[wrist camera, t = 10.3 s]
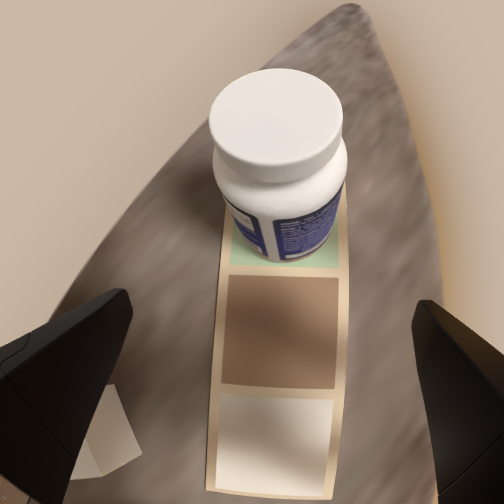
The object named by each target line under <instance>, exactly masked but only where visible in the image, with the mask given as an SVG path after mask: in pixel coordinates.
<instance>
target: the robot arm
mask: <svg viewBox="0 0 504 504" xmlns="http://www.w3.org/2000/svg"><path fill="white" fill-rule="evenodd" d="M132 316H133V309H132V306H131V302H130V299H129V296H128V292H127V291H126V290H125V289H120V288H114V289H111V290H110V291H108V292H106V293H104V294H102V295H100V296H98V297H96V298H94V299H92V300H90V301H88V302H86V303H84V304H82V305H80V306H78V307H76V308H75V309H73V310H71V311H69V312H67V313H65V314H63V315H61V316H59V317H57V318H55V319H54V320H52V321H50V322H48V323H46V324H44V325H42V326H40V327H39V328H37V329H35V330H33V331H32V332H29V333H27V334H25V335H24V336H22V337H20V338H18V339H16V340H14V341H12V342H10V343H8V344H6V345H4V346H2V347H0V504H28V503H29V501H30V499H32V500H34V501H35V502H37V503H38V504H62V502H63V499H64V496H65V493H66V490H67V487H68V484H69V481H70V478H71V475H72V472H73V469H74V467H75V464H76V460H77V458H78V455H79V452H80V450H81V447H82V444H83V442H84V439H85V436H86V434H87V431H88V429H89V426H90V424H91V421H92V419H93V416H94V414H95V411H96V409H97V406H98V404H99V401H100V399H101V396H102V394H103V392H104V389H105V387H106V385H107V382H108V380H109V378H110V375H111V373H112V371H113V368H114V366H115V364H116V362H117V359H118V357H119V355H120V352H121V349H122V346H123V343H124V340H125V337H126V334H127V331H128V328H129V325H130V322H131V319H132ZM411 329H412V336H413V343H414V350H415V357H416V365H417V372H418V377H419V381H420V386H421V390H422V395H423V400H424V405H425V410H426V415H427V420H428V426H429V431H430V437H431V443H432V450H433V457H434V464H435V472H436V481H437V490H438V495H439V496H438V504H504V355H503V354H502V353H501V352H499V351H498V350H497V349H496V348H494V347H493V346H492V345H491V344H489V343H488V342H487V341H485V340H484V339H483V338H482V337H480V336H479V335H478V334H476V333H475V332H474V331H473V330H471V329H470V328H469V327H467V326H466V325H465V324H463V323H462V322H461V321H459V320H458V319H457V318H455V317H454V316H453V315H451V314H450V313H449V312H447V311H446V310H445V309H443V308H442V307H441V306H439V305H438V304H437V303H435V302H434V301H432V300H420V301H419V302H418V303H417V306H416V310H415V313H414V316H413V320H412V325H411Z"/></svg>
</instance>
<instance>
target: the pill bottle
mask: <svg viewBox="0 0 504 504" xmlns="http://www.w3.org/2000/svg"><path fill="white" fill-rule="evenodd" d="M342 120H343V113H342V107H341V104H340V101H339V99H338V97H337V95H336V94H335V93H334V92H333V90H332V89H331V88H330V87H329V86H328V85H327V84H325V83H324V82H323V81H321V80H320V79H318V78H316V77H315V76H312V75H310V74H307V73H305V72H301V71H297V70H292V69H281V68H279V69H266V70H261V71H256V72H253V73H250V74H247V75H245V76H243V77H240V78H238V79H237V80H235V81H233V82H232V83H230V84H229V85H228V86H226V88H225V89H223V90H222V91H221V92H220V94H219V95H218V96H217V97H216V99H215V101H214V102H213V104H212V107H211V109H210V114H209V129H210V133H211V136H212V139H213V141H214V144H215V148H214V153H213V172H214V176H215V179H216V182H217V185H218V187H219V189H220V191H221V193H222V196H223V198H224V200H225V202H226V204H227V206H228V208H229V210H230V212H231V214H232V216H233V219H234V221H235V223H236V225H237V227H238V229H239V231H240V233H241V235H242V237H243V239H244V240H245V242H246V243H247V244H248V246H249V247H250V248H251V249H252V250H253V251H254V252H256V253H257V254H258V255H260V256H262V257H264V258H266V259H268V260H271V261H275V262H282V263H290V262H296V261H300V260H303V259H306V258H308V257H310V256H312V255H313V254H315V253H316V252H317V251H318V250H319V249H321V248H322V246H323V245H324V244H325V243H326V241H327V239H328V238H329V236H330V233H331V231H332V228H333V224H334V220H335V216H336V212H337V208H338V204H339V201H340V197H341V192H342V188H343V184H344V180H345V176H346V170H347V152H346V147H345V144H344V141H343V139H342V137H341V133H342Z"/></svg>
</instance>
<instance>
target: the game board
mask: <svg viewBox="0 0 504 504" xmlns="http://www.w3.org/2000/svg"><path fill="white" fill-rule="evenodd" d="M348 306H349V263H348V226H347V205H346V188H345V180H344V184H343V188H342V192H341V197H340V201H339V204H338V208H337V212H336V216H335V220H334V224H333V228H332V231H331V233H330V236H329V238H328V239H327V241H326V243H325V244H324V245H323V246H322V248H321V249H319V250H318V251H317V252H316V253H315V254H313V255H312V256H310V257H308V258H306V259H303V260H300V261H296V262H290V263H282V262H275V261H271V260H268V259H266V258H264V257H262V256H260V255H258V254H257V253H256V252H254V251H253V250H252V249H251V248H250V247H249V246H248V244H247V243H246V242H245V240H244V239H243V237H242V235H241V233H240V231H239V229H238V227H237V225H236V223H235V221H234V219H233V216H232V214H231V212H230V210H229V208H228V206H227V204H226V210H225V220H224V230H223V240H222V251H221V262H220V273H219V284H218V296H217V308H216V320H215V333H214V347H213V361H212V376H211V391H210V408H209V426H208V446H207V468H206V490H209V491H215V492H221V493H228V494H235V495H244V496H253V497H264V498H278V499H304V500H326V499H332V494H333V488H334V482H335V475H336V468H337V461H338V453H339V445H340V436H341V427H342V417H343V406H344V394H345V380H346V364H347V343H348Z"/></svg>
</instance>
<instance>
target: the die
mask: <svg viewBox="0 0 504 504" xmlns="http://www.w3.org/2000/svg"><path fill="white" fill-rule="evenodd" d="M140 455H142V452H141V449H140V447H139V445H138V443H137V440H136V438H135V436H134V434H133V431H132V429H131V427H130V424H129V422H128V419H127V417H126V414H125V412H124V409H123V407H122V404H121V402H120V399H119V396H118V394H117V391H116V388H115V385H114V384H112V385H106V387H105V389H104V392H103V394H102V396H101V399H100V401H99V404H98V406H97V409H96V411H95V414H94V416H93V419H92V421H91V424H90V426H89V429H88V431H87V434H86V436H85V439H84V442H83V444H82V447H81V450H80V452H79V455H78V458H77V460H76V464H75V467H74V469H73V472H72V475H71V478H70V480H75V479H86V478H95V477H103V476H105V475H107V474H108V473H110V472H112V471H114V470H116V469H117V468H119V467H121V466H123V465H124V464H126V463H128V462H130V461H131V460H133V459H135V458H136V457H138V456H140Z"/></svg>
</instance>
